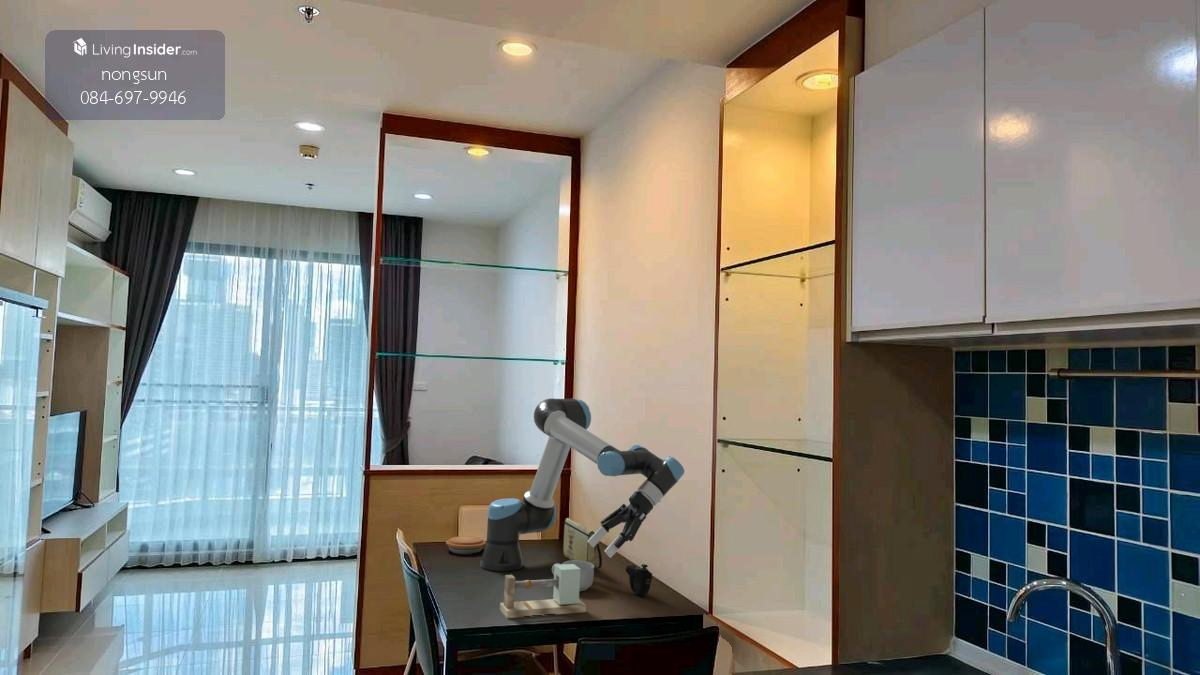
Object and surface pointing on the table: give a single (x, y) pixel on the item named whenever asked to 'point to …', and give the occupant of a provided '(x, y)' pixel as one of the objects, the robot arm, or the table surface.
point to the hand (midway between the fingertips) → (598, 549)
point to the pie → (465, 544)
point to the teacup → (582, 572)
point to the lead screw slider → (536, 606)
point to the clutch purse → (579, 543)
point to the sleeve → (567, 584)
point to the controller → (639, 579)
